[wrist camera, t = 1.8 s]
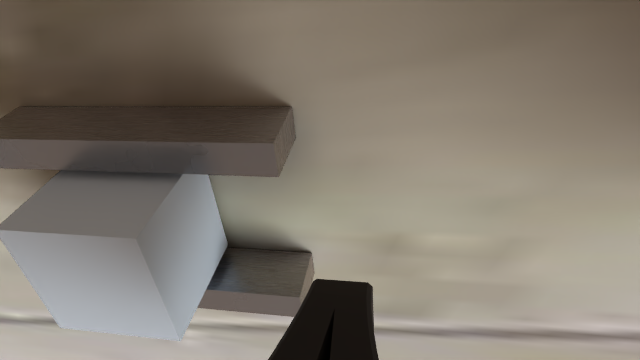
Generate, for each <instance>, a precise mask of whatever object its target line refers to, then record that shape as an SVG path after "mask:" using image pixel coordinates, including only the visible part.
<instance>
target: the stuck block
mask: <svg viewBox="0 0 640 360" xmlns="http://www.w3.org/2000/svg"><path fill="white" fill-rule="evenodd" d="M0 239H1V241H2V242H3V244H4V245H5V247H6V248H7V250H8V251H9V253H10V254H11V256H12V257H13V259H14V260H15V262H16V263H17V264H18V266H19V267H20V269H21V270H22V272H23V273H24V275H25V276H26V278H27V279H28V281H29V282H30V284H31V285H32V287H33V288H34V290H35V291H36V293H37V294H38V296H39V297H40V299H41V300H42V302H43V303H44V305H45V306H46V308H47V309H48V311H49V312H50V313H51V315H52V316H53V318H54V319H55V321H56V322H57V324H58V325H59V327H60V328H66V329H75V330H84V331H93V332H102V333H111V334H120V335H129V336H138V337H147V338H156V339H165V340H174V341H181V340H182V338H183V336H184V334H185V331H186V329H187V327H188V325H189V323H190V321H191V319H192V317H193V315H194V313H195V311H196V309H197V307H198V305H199V303H200V301H201V299H202V297H203V295H204V293H205V291H206V288H207V286H208V284H209V282H210V280H211V278H212V276H213V274H214V272H215V270H216V268H217V266H218V264H219V262H220V260H221V258H222V256H223V254H224V252H225V250H226V248H227V245H228V243H227V240H226V236H225V233H224V229H223V225H222V222H221V218H220V215H219V211H218V208H217V204H216V201H215V197H214V194H213V190H212V186H211V183H210V179H209V176H208V175H202V174H170V173H138V172H107V171H75V170H61V171H59V172H58V173H57V174H56V175H55V176H54V177H53V178H52V179H50V180H49V181H48V182H47V183H46V184H45V185H44V186H43V187H41V188H40V189H39V190H38V191H37V192H36V193H35V194H34V195H32V196H31V197H30V198H29V199H28V200H27V201H26V202H25V203H23V204H22V205H21V206H20V207H19V208H18V209H17V210H16V211H14V212H13V213H12V214H11V215H10V216H9V217H8V218H7V219H5V220H4V221H3V222H2V223H1V224H0Z"/></svg>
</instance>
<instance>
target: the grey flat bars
mask: <svg viewBox="0 0 640 360" xmlns="http://www.w3.org/2000/svg"><path fill="white" fill-rule="evenodd" d="M295 138H296V135H295V128H294V121H293V114H292V107H18V108H16V109H15V110H13V111H12V112H10V113H9V114H7V115H5V116H4V117H2V118H1V119H0V168H11V169H43V170H75V171H107V172H138V173H170V174H202V175H234V176H266V177H279V175H280V173H281V171H282V168H283V166H284V164H285V161H286V159H287V157H288V155H289V152H290V150H291V148H292V145H293V143H294V141H295ZM313 276H314V266H313V259H312V253H304V252H289V251H273V250H258V249H243V248H226V250H225V252H224V254H223V256H222V258H221V260H220V262H219V264H218V266H217V268H216V270H215V272H214V274H213V276H212V278H211V280H210V282H209V284H208V286H207V288H206V291H205V293H204V295H203V297H202V299H201V301H200V303H199V305H198V307H197V308H206V309H216V310H227V311H238V312H248V313H259V314H270V315H280V316H291V317H295V315H296V314H297V312H298V310H299V308H300V306H301V304H302V303H303V301H304V299H305V297H306V295H307V293H308V291H309V289H310V286H311V284H312V280H313Z"/></svg>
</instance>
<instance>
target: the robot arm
mask: <svg viewBox="0 0 640 360" xmlns="http://www.w3.org/2000/svg"><path fill="white" fill-rule="evenodd" d="M268 360H379V359H378V354H377V349H376V343H375V336H374V319H373V287H372V286H371V285H370V284H369V283H366V282H352V281H338V280H324V279H316V280H315V281H313V282H312V284H311V286H310V289H309V291H308V293H307V295H306V297H305V299H304V301H303V303H302V304H301V306H300V308H299V310H298V312H297V314H296V315H295V317H294V319H293V320H292V322H291V324H290V326H289V327H288V329H287V331H286V332H285V334H284V335H283V337H282V339H281V340H280V342H279V343H278V345H277V347H276V348H275V350H274V351H273V353H272V355H271V356H270V358H269V359H268Z"/></svg>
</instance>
